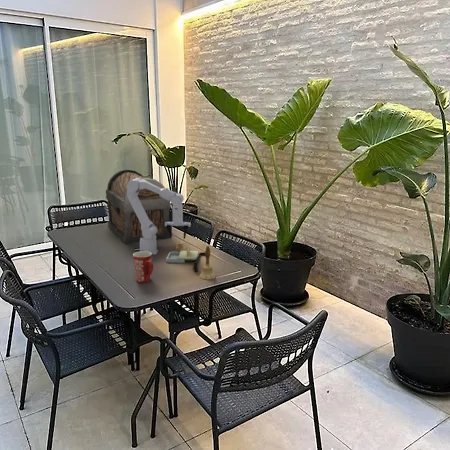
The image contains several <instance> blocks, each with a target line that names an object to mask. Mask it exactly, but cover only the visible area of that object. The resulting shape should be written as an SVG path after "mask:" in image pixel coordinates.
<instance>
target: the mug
mask: <svg viewBox="0 0 450 450" xmlns="http://www.w3.org/2000/svg"><path fill="white" fill-rule="evenodd" d="M152 255H153V254H152V253H151V252H148V251H140V250H139V251H136V252H133V254H132V256H133V263H134V265H133V266H134V271H135V272H134V275H135V281H136V282H138V283H148V282H150V281H152V273H153V270H154V263H153V261H152Z"/></svg>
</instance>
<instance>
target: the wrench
mask: <svg viewBox="0 0 450 450" xmlns="http://www.w3.org/2000/svg"><path fill="white" fill-rule="evenodd" d="M201 256H205V251H204V252H198V255H197V259H196V260H195V262H194V261H193V268H192V270H193V271H194V273H196V272H197V273H198V271H199V269H198V268H199V267H198V265H199V261H200V258H201ZM205 257H206V256H205Z"/></svg>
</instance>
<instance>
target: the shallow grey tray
mask: <svg viewBox="0 0 450 450" xmlns="http://www.w3.org/2000/svg"><path fill="white" fill-rule="evenodd" d="M179 254H180V252H176V251H169V252H168V254H167V256H166V258H165V262H166V263H167V264H168V263H169V264H171V263H172V264H185V263H186V259H178V256H179Z"/></svg>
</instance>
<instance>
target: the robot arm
mask: <svg viewBox="0 0 450 450" xmlns="http://www.w3.org/2000/svg"><path fill="white" fill-rule="evenodd" d="M141 189H148V190H150V191H153V192H155V193H158V194H159V195H160V197H161V198H163V199H166V200H168V201H170V204H171V205H172V221H169V222H165V226H167V227H166V228H167V230H168V232H169V234H170V238H169V239H172V238H173V227H183V239H186V235H187V232H188V230H189V227H191V225H192V224H191V222H189V221H188V222H187V221H183V220H184V219H183V217H184V216H183V213H184V212H183V209H184V208H183V201H184V199H185V198H184V196H183V194H181V193H180V192H177V191H172V190H170V188H169V187H165V188H163V189H161V188H159V187H157V186H155V185H153V184H151V183H150V182H148V181H146V180H144V179H141V178H135V179H133V180H130V181H129V182H128V184H127V197H128V199H129V201H130V203H131V205H132V207H133V209H134V211H135V213H136V215H137V217H138V219H139V221H140V223H141V230H142V235H143V238H140V242H139V251H148V252H151V253H152V255H157V254H158V252H159V249H157V240H156V233H157V227H156V226H155V225H154V224H153V223H152V222H151V221H150V220H149V218H148V216H147V214H146V212H145V210H144V208H143V206H142V204H141V202H140V200H139V198H138V193H139V191H140V190H141Z"/></svg>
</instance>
